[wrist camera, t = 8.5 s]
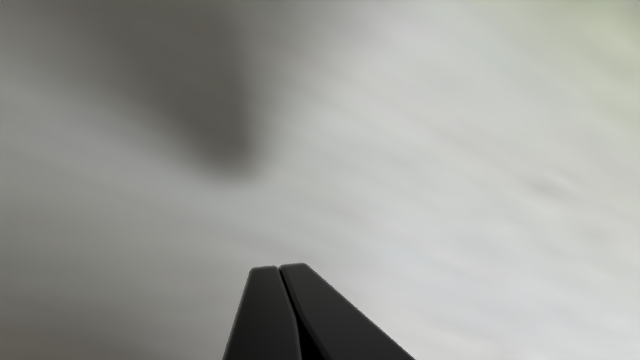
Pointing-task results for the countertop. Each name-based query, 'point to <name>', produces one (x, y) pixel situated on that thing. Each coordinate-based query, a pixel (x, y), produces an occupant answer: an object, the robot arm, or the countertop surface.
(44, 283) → the countertop surface
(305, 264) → the robot arm
